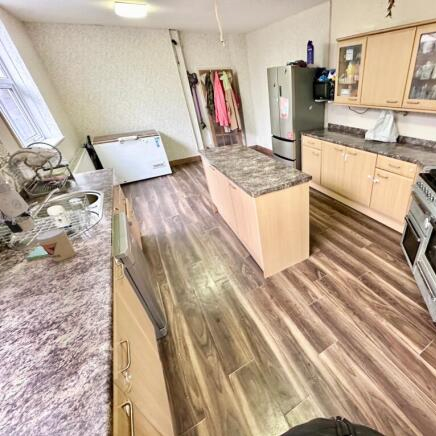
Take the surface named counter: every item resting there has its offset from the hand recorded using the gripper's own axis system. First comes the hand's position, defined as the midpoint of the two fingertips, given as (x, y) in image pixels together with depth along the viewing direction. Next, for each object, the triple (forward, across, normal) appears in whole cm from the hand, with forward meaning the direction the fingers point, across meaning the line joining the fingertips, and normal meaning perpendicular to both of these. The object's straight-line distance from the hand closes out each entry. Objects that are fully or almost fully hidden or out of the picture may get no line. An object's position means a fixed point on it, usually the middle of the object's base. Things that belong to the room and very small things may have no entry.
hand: (24, 227), depth 100 cm
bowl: (+1, 0, 0) cm, 1 cm away
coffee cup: (+14, -6, -11) cm, 19 cm away
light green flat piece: (+14, +1, -1) cm, 14 cm away
